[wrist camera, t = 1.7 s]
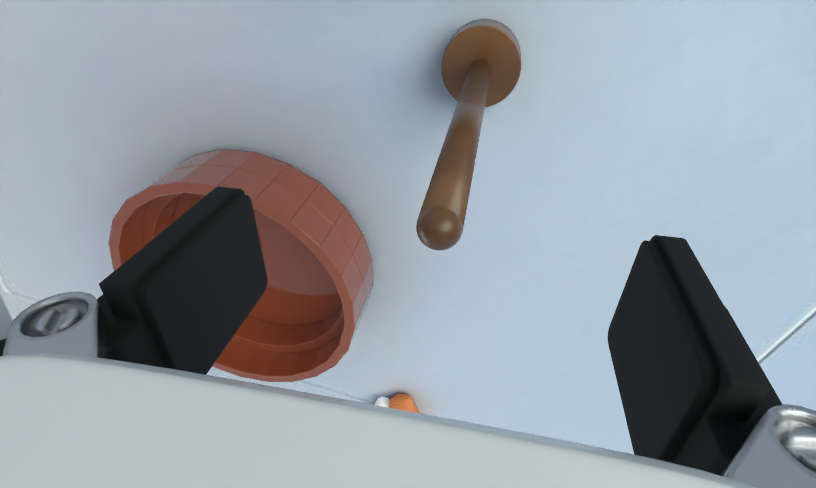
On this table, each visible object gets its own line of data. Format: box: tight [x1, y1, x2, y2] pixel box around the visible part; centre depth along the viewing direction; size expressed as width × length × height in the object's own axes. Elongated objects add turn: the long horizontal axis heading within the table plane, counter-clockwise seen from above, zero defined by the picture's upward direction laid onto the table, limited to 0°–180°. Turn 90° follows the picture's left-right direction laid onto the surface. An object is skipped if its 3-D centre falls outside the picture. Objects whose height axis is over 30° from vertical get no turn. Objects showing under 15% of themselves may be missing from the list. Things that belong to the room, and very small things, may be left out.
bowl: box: [109, 149, 373, 382], centre depth 37 cm, size 20×20×6 cm
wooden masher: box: [416, 19, 521, 250], centre depth 19 cm, size 4×4×19 cm
